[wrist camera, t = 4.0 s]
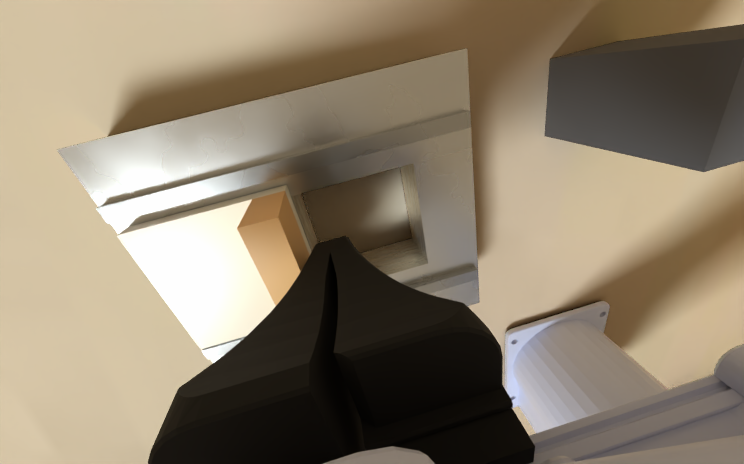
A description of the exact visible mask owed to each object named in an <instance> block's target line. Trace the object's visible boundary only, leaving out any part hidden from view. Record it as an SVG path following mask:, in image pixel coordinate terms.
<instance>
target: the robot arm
mask: <svg viewBox="0 0 744 464" xmlns="http://www.w3.org/2000/svg"><path fill="white" fill-rule="evenodd" d="M609 309H610V305H609V304H608V303H607V302H605V301H600V302H596V303H593V304H590V305H587V306H584V307H580V308H577V309H574V310H571V311H567V312H564V313H561V314H558V315H554V316H551V317H548V318H545V319H541V320H538V321H535V322H532V323H528V324H525V325H522V326H519V327H516V328H512V329H510V330H508V331H507V332H506V335H505V388H504V387H503V385H502V352H501V347H500V345H499V343H498V342H497V340H496V338H495V337H494V336H493V334H492V333H491V331H490V330H489V329H488V328H487V326H486V325H485V324H484V323H483V322H482V321H481V320H480V319H479V318H478V317H477V316H476V315H475V314H474V313H473V312H472V311H471V310H470V309H469V308H468V307H467V306H466V305H465V304H464V303H462V302H458V301H454V300H449V299H445V298H441V297H436V296H433V295H430V294H427V293H424V292H421V291H418V290H416V289H413V288H411V287H409V286H406V285H404V284H402V283H400V282H398V281H396V280H395V279H393V278H391V277H389V276H388V275H386V274H385V273H383V272H382V271H380V270H379V269H378V268H376V267H375V266H374V265H373V264H371V263H370V262H369V261H368V260H367V259H366V258H365V257H364V256H363V255H362V254H360V253H359V251H358V250H357V249H356V248H355V247H354V246H353V244H352V243H351V241H350V240H349V238H348V237H346V236H343V237H340V238H336V239H333V240H329V241H325V242H322V243H318V244H316V245H315V247H314V248H313V250H312V252H311V254H310V256H309V258H308V260H307V261H306V263H305V265H304V267H303V268H302V270H301V272H300V274H299V275H298V277H297V278H296V280H295V281H294V283H293V284H292V286H291V287H290V289H289V290H288V292H287V293H286V294H285V296H284V297H283V298H282V299H281V301H280V302H279V303H278V304H277V305H276V307H275V308H274V309H273V310H272V311H271V312H270V313H269V314H268V315H267V316H266V317H265V318H264V319H263V320H262V321H261V322H260V323H259V324H258V325H257V326H256V327H255V328H254V329H253V330H252V331H251V332H250V333H249V334H248V335H247V336H246V337H245V338H244V339H243V340H241V341H240V342H239V343H238V344H237V345H236V346H234V347H233V348H232V349H231V350H230V351H228V352H227V353H226V354H225V355H223V356H222V357H221V358H220V359H218V360H217V361H216V362H214V363H213V364H212V365H210V366H209V367H208V368H206V369H205V370H203V371H202V372H201V373H199V374H198V375H197V376H195V377H194V378H192V379H191V380H190V381H188V382H187V383H185V384H184V385H182V386H181V387H179V389H178V391H177V393H176V395H175V397H174V400H173V402H172V404H171V406H170V409H169V411H168V413H167V415H166V418H165V420H164V422H163V424H162V427H161V429H160V431H159V434H158V436H157V438H156V440H155V443H154V445H153V447H152V449H151V453H150V456H149V460H148V464H744V344H742V345H739V346H736V347H734V348H732V349H730V350H729V351H727V352H726V353H725V354H724V355H723V356H722V357H721V358H720V359H719V361H718V363H717V364H716V367H715V369H714V375H711V376H708V377H705V378H702V379H699V380H696V381H693V382H690V383H687V384H684V385H681V386H678V387H675V388H672V389H668V388H666V387H665V386H664V385H663V384H662V383H661V382H659V381H658V380H657V379H656V378H655V377H654V376H652V375H651V374H650V373H649V372H648V371H647V370H645V369H644V368H643V367H642V366H641V365H640V364H638V363H637V362H636V361H635V360H634V359H633V358H632V357H630V356H629V355H628V354H627V353H626V352H625V351H623V350H622V349H621V348H620V347H619V346H618V345H616V344H615V343H614V342H613V341H612V340H611V339H609V338H608V337H607V336H606V335H605V334H604V329H605V325H606V321H607V317H608V313H609ZM517 406H519V407H520V409H521V410H522V412H523V413H524V415H525V417H526V418H527V420H528V421H529V423H530V424H531V426H532V428H533V429H534V431H535V432H536V434H533V435H530V436H529V435H528V434H527V432H526V430H525V429H524V427H523V426H522V424H521V422H520V421H519V419H518V417H517V416H516V414H515V412H514V411H513V409H512V408H514V407H517Z"/></svg>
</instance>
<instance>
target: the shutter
mask: <svg viewBox="0 0 744 464" xmlns="http://www.w3.org/2000/svg"><path fill="white" fill-rule="evenodd" d="M117 237H118V238H119V240H120V241H121V242H122V244H123V245H124V246H125V248H126V249H127V250H128V252H129V253H130V254H131V256H132V257H133V259H134V260H135V261H136V263H137V264H138V265H139V267H140V268H141V269H142V271H143V272H144V273H145V275H146V276H147V277H148V279H149V280H150V282H151V283H152V284H153V286H154V287H155V288H156V290H157V291H158V292H159V294H160V295H161V296H162V298H163V299H164V300H165V302H166V303H167V305H168V306H169V307H170V309H171V310H172V311H173V313H174V314H175V315H176V317H177V318H178V319H179V321H180V322H181V323H182V325H183V326H184V328H185V329H186V330H187V332H188V333H189V334H190V336H191V337H192V338H193V340H194V341H195V342H196V344H197V345H198V346H199V348H200V349H204V348H208V347H211V346H214V345H218V344H221V343H225V342H228V341H231V340H235V339H238V338H242V337H245V336H247V335H248V334H249V333H250V332H251V331H252V330H253V329H254V328H255V327H256V326H257V325H258V324H259V323H260V322H261V321H262V320H263V319H264V318H265V317H266V316H267V315H268V314H269V313H270V312H271V311H272V310H273V309H274V308H275V307H276V305H277V304H278V303H279V302H280V301H281V299H282V298H283V297H284V296H285V294H286V293H287V292H288V290H289V289H290V287H291V286H292V284H293V283H294V281H295V280H296V278H297V277H298V275H299V274H300V272H301V270H302V268H303V267H304V265H305V263H306V261H307V260H308V258H309V256H310V254H311V252H312V251H311V249H310V246H309V243H308V241H307V238H306V235H305V233H304V230H303V227H302V225H301V222H300V219H299V217H298V214H297V211H296V209H295V206H294V203H293V201H292V198H291V195H290V193H289V190H288V187H287V185H283V186H280V187H276V188H272V189H268V190H265V191H261V192H257V193H253V194H249V195H246V196H242V197H238V198H234V199H231V200H227V201H223V202H219V203H216V204H212V205H208V206H204V207H201V208H197V209H193V210H189V211H186V212H182V213H178V214H174V215H170V216H167V217H163V218H159V219H155V220H152V221H148V222H144V223H140V224H137V225H133V226H129V227H127V228H126V229H124V230H123V231H122V232H120V233H119V234H118V235H117Z"/></svg>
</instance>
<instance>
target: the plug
mask: <svg viewBox="0 0 744 464" xmlns="http://www.w3.org/2000/svg"><path fill="white" fill-rule="evenodd" d="M545 136H547V137H551V138H556V139H560V140H564V141H569V142H573V143H578V144H582V145H587V146H591V147H595V148H600V149H604V150H609V151H613V152H617V153H622V154H626V155H631V156H635V157H639V158H644V159H648V160H653V161H657V162H661V163H666V164H670V165H675V166H679V167H683V168H688V169H692V170H697V171H701V172H706V171H709V170H713V169H716V168H720V167H723V166H727V165H730V164H734V163H737V162H741V161H744V24H742V25H734V26H727V27H720V28H713V29H705V30H698V31H691V32H683V33H676V34H669V35H662V36H654V37H647V38H640V39H633V40H625V41H619V42H615V43H611V44H607V45H603V46H599V47H595V48H591V49H587V50H583V51H579V52H575V53H571V54H567V55H564V56H560V57H556V58H552V59H550V66H549V81H548V95H547V109H546V124H545Z"/></svg>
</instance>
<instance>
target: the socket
mask: <svg viewBox="0 0 744 464" xmlns="http://www.w3.org/2000/svg"><path fill="white" fill-rule="evenodd" d="M57 151H58V152H59V154H60V155H61V157H62V158H63V159H64V161H65V162H66V163H67V165H68V166H69V167H70V169H71V170H72V172H73V173H74V174H75V176H76V177H77V178H78V180H79V181H80V182H81V184H82V185H83V187H84V188H85V189H86V191H87V192H88V193H89V195H90V196H91V197H92V199H93V200H94V201H95V203H96V204H97V206H98V207H97V208H96V209H97V211H98V212H99V213H100V215H101V216H102V217H103V219H104V220H105V221H106V223H111V225H112V226H113V227H114V229H115V230H116V231H117V233H118V234H119V233H120V232H122V231H123V230H124V229H126V228H127V227H129V226H133V225H137V224H140V223H144V222H148V221H152V220H155V219H159V218H163V217H167V216H170V215H174V214H178V213H182V212H186V211H189V210H193V209H197V208H201V207H204V206H208V205H212V204H216V203H219V202H223V201H227V200H231V199H234V198H238V197H242V196H246V195H249V194H253V193H257V192H261V191H265V190H268V189H272V188H276V187H280V186H283V185H287V187H288V190H289V193H290V195H291V198H292V201H293V203H294V206H295V209H296V211H297V214H298V217H299V219H300V222H301V225H302V227H303V230H304V233H305V235H306V238H307V241H308V243H309V246H310V249H311V251H312V250H313V248H314V247H315V245H316V244H318V240H317V238H316V235H315V232H314V229H313V226H312V223H311V221H310V218H309V215H308V212H307V209H306V207H305V204H304V201H303V198H302V195H301V193H305V192H308V191H312V190H316V189H320V188H323V187H327V186H331V185H335V184H338V183H342V182H346V181H349V180H353V179H357V178H361V177H364V176H368V175H372V174H376V173H379V172H383V171H387V170H390V169H394V168H398V167H400V171H401V176H402V182H403V188H404V194H405V200H406V205H407V211H408V217H409V223H410V229H411V234H412V239H408V240H405V241H401V242H398V243H394V244H391V245H387V246H383V247H380V248H376V249H373V250H369V251H366V252H362V253H360V254H362V255H363V256H364V257H365V258H366V259H367V260H368V261H369V262H370V263H371V264H373V265H374V266H375V267H376V268H378V269H379V270H380V271H382V272H383V273H385V274H386V275H388V276H389V277H391V278H393V279H395V280H396V281H398V282H400V283H402V284H404V285H406V286H409V287H411V288H413V289H416V290H418V291H421V292H424V293H427V294H430V295H433V296H436V297H441V298H445V299H449V300H454V301H458V302H462V303H464V304H465V305H466V306H469V305H472V304H476V303H479V281H478V260H477V239H476V218H475V197H474V177H473V156H472V135H471V114H470V93H469V72H468V52H467V48H466V49H461V50H457V51H453V52H448V53H444V54H439V55H435V56H431V57H427V58H423V59H419V60H415V61H411V62H407V63H403V64H399V65H395V66H391V67H387V68H383V69H379V70H375V71H371V72H367V73H362V74H358V75H354V76H350V77H346V78H342V79H338V80H334V81H330V82H326V83H322V84H318V85H314V86H310V87H306V88H302V89H298V90H294V91H290V92H286V93H282V94H278V95H273V96H269V97H265V98H261V99H257V100H253V101H249V102H245V103H241V104H237V105H233V106H229V107H225V108H221V109H217V110H213V111H209V112H205V113H201V114H197V115H193V116H189V117H184V118H180V119H176V120H172V121H168V122H164V123H160V124H156V125H152V126H148V127H144V128H140V129H136V130H132V131H128V132H124V133H120V134H116V135H112V136H108V137H104V138H100V139H96V140H92V141H88V142H84V143H81V144H77V145H73V146H69V147H65V148H61V149H57ZM245 337H246V336H245ZM245 337H242V338H238V339H235V340H231V341H228V342H225V343H221V344H218V345H214V346H211V347H208V348H204V349H202V352H203V354H204V355H205V356H206V358H207V359H210V360H211V361H212V362H213V363H214V362H216V361H217V360H218V359H220V358H221V357H222V356H223V355H225V354H226V353H227V352H228V351H230V350H231V349H232V348H233V347H234V346H236V345H237V344H238V343H239V342H240V341H241V340H243V339H244V338H245Z"/></svg>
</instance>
